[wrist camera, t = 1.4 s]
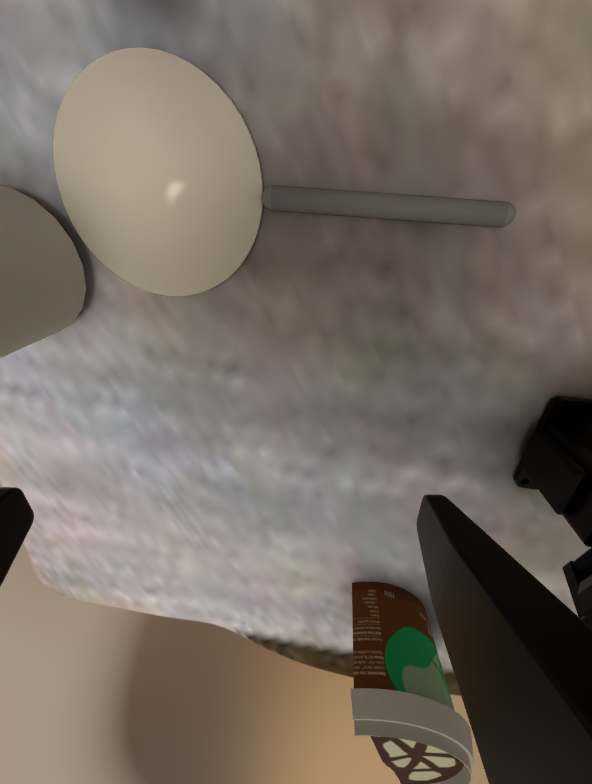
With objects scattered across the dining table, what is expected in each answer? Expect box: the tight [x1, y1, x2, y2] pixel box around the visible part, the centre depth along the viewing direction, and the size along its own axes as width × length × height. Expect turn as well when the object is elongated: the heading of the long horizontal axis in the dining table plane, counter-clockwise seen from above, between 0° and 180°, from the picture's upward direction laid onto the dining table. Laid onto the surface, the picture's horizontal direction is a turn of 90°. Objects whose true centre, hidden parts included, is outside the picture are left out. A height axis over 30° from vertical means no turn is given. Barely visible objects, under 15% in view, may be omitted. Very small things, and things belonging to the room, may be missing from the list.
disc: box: [53, 47, 263, 296], centre depth 17 cm, size 10×10×1 cm
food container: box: [351, 582, 474, 784], centre depth 26 cm, size 12×6×10 cm, turn 22°
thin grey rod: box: [261, 186, 516, 227], centre depth 16 cm, size 11×1×1 cm, turn 86°
